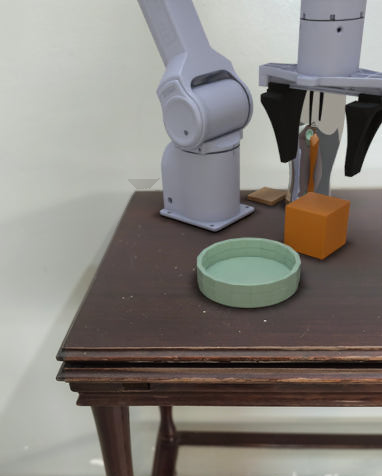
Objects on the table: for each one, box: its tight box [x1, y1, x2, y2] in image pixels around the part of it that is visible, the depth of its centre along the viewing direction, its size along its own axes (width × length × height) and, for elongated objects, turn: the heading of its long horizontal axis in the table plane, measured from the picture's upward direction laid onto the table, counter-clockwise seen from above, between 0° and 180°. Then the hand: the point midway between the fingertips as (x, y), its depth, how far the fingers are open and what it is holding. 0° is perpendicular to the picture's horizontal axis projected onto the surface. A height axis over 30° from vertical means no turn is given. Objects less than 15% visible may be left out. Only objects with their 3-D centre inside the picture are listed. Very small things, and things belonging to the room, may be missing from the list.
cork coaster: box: [246, 186, 287, 207], centre depth 76 cm, size 4×4×1 cm
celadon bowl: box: [196, 237, 302, 309], centre depth 58 cm, size 10×10×2 cm
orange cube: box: [283, 192, 351, 260], centre depth 63 cm, size 5×5×5 cm
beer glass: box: [284, 90, 347, 206], centre depth 70 cm, size 7×7×15 cm
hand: (319, 166), depth 59 cm, fingers open, 7 cm apart
